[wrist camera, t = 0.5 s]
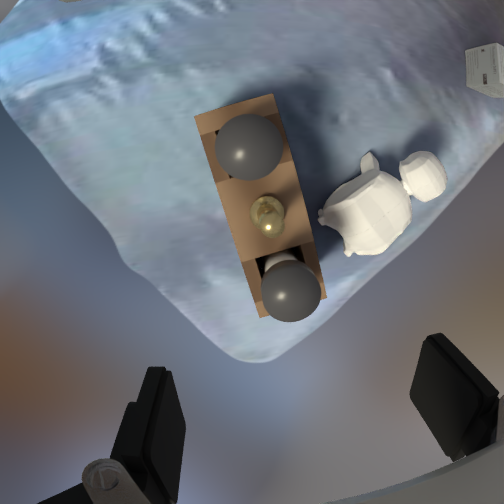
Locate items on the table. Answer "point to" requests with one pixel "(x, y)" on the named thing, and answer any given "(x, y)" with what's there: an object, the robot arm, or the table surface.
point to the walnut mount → (246, 192)
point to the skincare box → (486, 69)
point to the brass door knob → (268, 216)
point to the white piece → (381, 202)
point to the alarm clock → (69, 0)
